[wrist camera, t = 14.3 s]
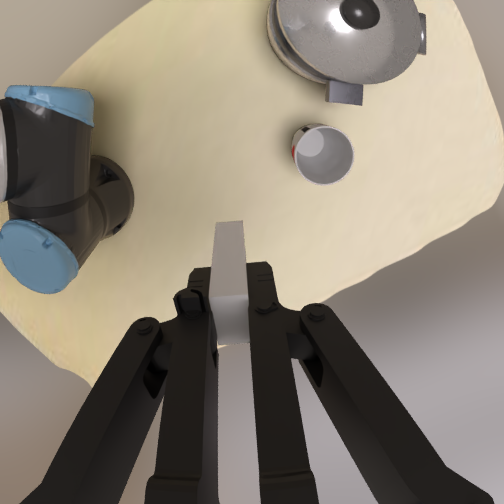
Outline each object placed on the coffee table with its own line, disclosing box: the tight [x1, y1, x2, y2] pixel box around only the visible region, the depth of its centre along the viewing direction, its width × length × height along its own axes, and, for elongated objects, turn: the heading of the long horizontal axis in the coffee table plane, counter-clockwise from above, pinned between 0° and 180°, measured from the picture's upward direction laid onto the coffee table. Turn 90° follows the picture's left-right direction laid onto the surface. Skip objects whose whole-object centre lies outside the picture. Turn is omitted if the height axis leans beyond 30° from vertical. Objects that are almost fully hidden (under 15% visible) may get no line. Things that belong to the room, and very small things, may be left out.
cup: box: [292, 124, 354, 185], centre depth 43 cm, size 8×8×10 cm
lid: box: [276, 0, 426, 84], centre depth 25 cm, size 20×18×4 cm
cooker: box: [267, 0, 363, 106], centre depth 32 cm, size 20×23×12 cm
